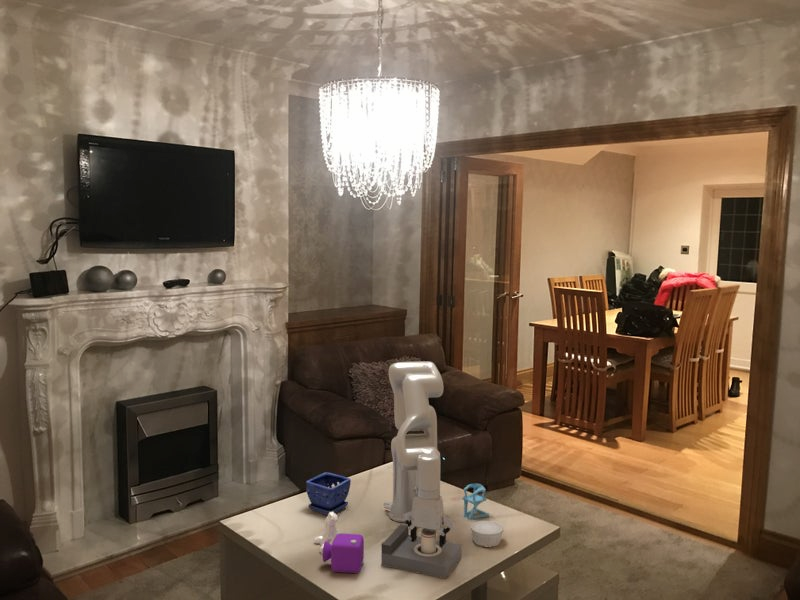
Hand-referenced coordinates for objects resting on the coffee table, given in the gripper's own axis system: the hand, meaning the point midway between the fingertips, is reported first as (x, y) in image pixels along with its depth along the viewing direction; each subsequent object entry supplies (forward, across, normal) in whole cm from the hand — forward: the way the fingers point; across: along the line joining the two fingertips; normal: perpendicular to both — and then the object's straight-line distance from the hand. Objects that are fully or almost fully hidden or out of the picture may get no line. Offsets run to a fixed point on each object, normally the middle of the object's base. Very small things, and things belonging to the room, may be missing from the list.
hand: (427, 543), depth 213 cm
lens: (+5, 0, 0) cm, 5 cm away
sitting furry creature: (+7, -35, -3) cm, 36 cm away
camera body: (+6, -2, 0) cm, 7 cm away
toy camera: (+7, -24, -14) cm, 29 cm away
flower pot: (+7, -50, +24) cm, 56 cm away
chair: (+7, +4, +41) cm, 42 cm away
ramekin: (+7, +14, +22) cm, 27 cm away
